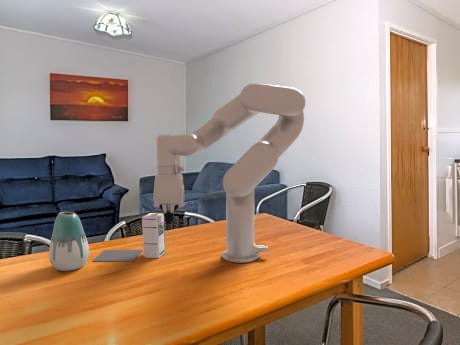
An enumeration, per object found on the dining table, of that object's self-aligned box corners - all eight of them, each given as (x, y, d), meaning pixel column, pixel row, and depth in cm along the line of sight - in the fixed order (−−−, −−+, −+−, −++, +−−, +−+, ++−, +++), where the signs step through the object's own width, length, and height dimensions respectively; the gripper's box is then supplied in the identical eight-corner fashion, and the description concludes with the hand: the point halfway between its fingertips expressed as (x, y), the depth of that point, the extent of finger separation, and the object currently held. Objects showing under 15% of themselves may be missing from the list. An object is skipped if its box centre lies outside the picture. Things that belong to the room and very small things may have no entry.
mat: (142, 250, 123) (142, 249, 123) (134, 261, 112) (133, 260, 112) (104, 250, 123) (104, 249, 123) (92, 261, 113) (92, 260, 112)
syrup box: (159, 258, 115) (157, 216, 113) (143, 257, 116) (141, 216, 115) (165, 252, 120) (164, 213, 119) (150, 252, 122) (148, 212, 120)
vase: (97, 262, 112) (95, 209, 110) (70, 276, 101) (67, 217, 99) (70, 259, 115) (66, 207, 113) (41, 271, 104) (37, 215, 103)
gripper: (191, 169, 119) (192, 220, 121) (149, 169, 119) (150, 220, 121) (189, 172, 111) (189, 226, 113) (143, 171, 111) (145, 226, 113)
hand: (169, 223), depth 117 cm, fingers closed
